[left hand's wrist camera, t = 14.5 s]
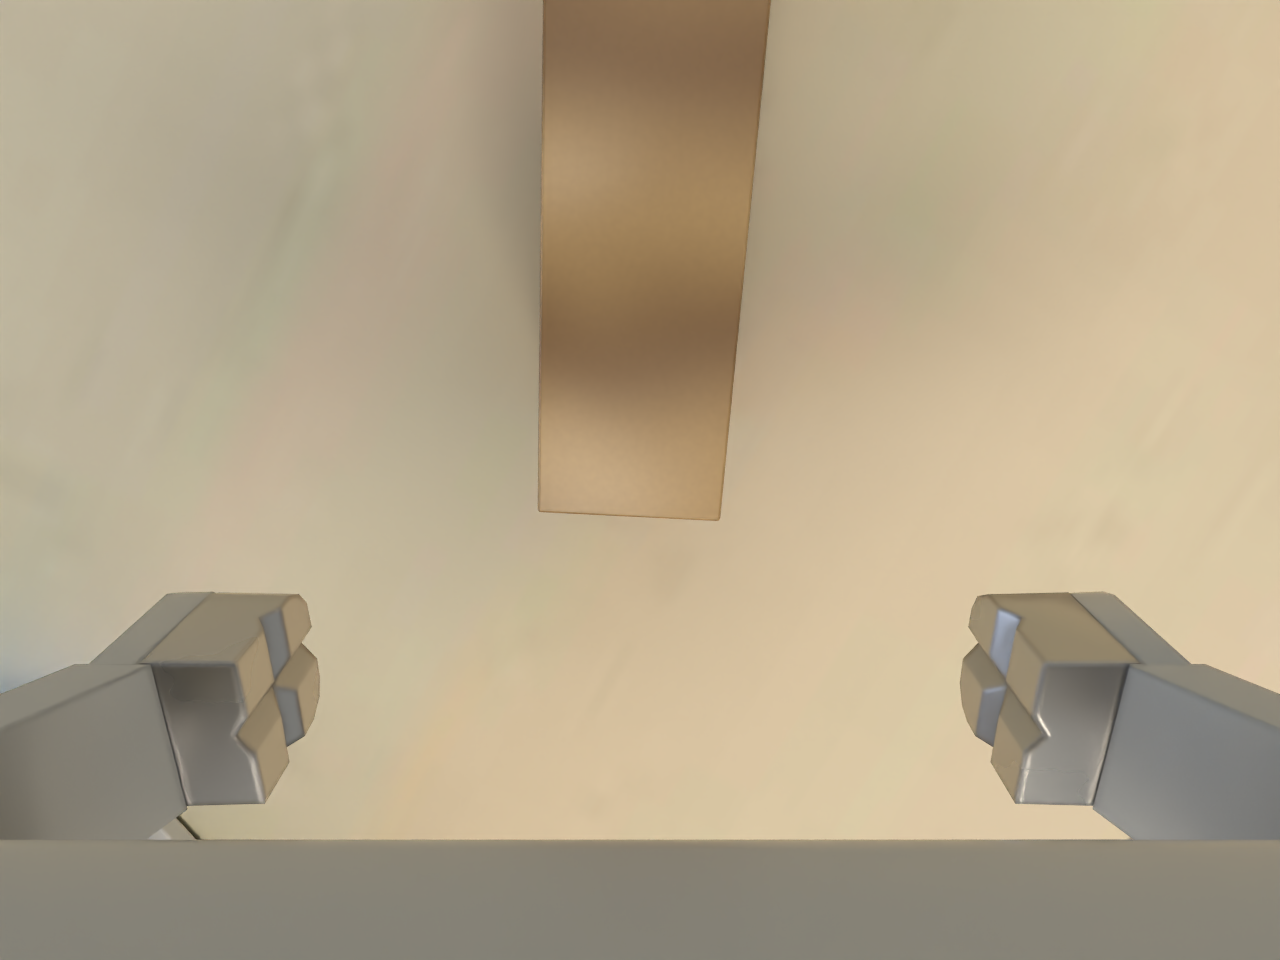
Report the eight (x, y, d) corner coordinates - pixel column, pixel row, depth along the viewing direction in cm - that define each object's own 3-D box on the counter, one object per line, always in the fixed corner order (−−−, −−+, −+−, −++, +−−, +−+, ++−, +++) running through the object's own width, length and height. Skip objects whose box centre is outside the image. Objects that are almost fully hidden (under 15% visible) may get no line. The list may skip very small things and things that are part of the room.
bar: (698, 428, 33) (719, 521, 25) (564, 421, 33) (537, 513, 24) (762, -321, 25) (829, -585, 16) (581, -334, 25) (549, -607, 16)
